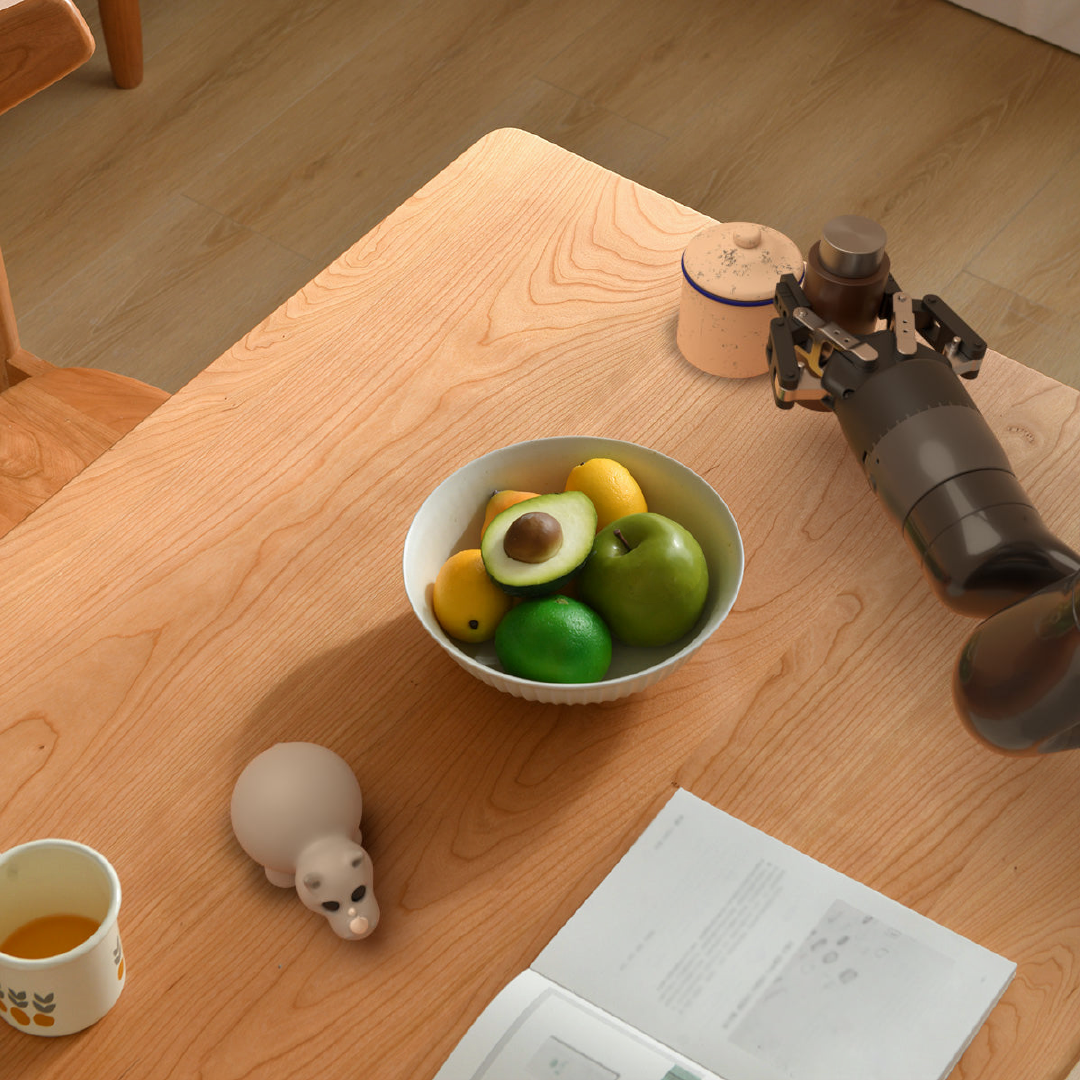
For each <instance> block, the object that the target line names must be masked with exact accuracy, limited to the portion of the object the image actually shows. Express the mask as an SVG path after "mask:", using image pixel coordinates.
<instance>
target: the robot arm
mask: <svg viewBox="0 0 1080 1080" xmlns="http://www.w3.org/2000/svg"><path fill="white" fill-rule="evenodd" d="M773 305H774V307H775V309H776V310H777V313H778V314H779V316H780V317H776V318H773V319H772V320H771V321H770V327H769V330H770V331H769V337H768V343H767V345H766V350H765V353H766V358H767V363H768V368H769V371H768V374H769V379H770V384H771V388H772V389H771V390H772V393H773V400H774V404H775V406H776V407H777V408H778V409H780V410H782V411H789V410H791V409H793V408H794V407H795V403H796V402H795V400H820V402H821V403H822V404H823V405H824V406H825V407H827V408H828V409H830V410H831V411H832V412H831V413H833V414H834V415H835V416H836V418H837V421H838V423H839V426H840V430H841V432H842V435H843V436H844V438H845V440H846V443H847V444H848V446H849V448H850V450H851V452H852V453H853V456H854V457H855V459H856V461H857V463H858V465H859V466H860V469H861V470H862V472H863V474H864V476H865V478H866V480H867V483H868V485H869V488H870V490H871V492H872V493H873V494H874V495H875V496H876V498H877V501H878V502H879V504H880V506H881V508H882V511H884V513H885V514H886V516H887V518H888V519H889V521H890V522H891V523H892V524H893V526H894V527H895V528H896V529H897V530H898V532H899V533H900V535H901V536H902V538H903V540H904V541H905V543H906V545H907V547H908V549H909V550H910V552H911V554H912V556H913V558H914V560H915V562H916V564H917V565H918V567H919V569H920V571H921V572H922V574H923V577H924V579H925V580H926V583H927V584H928V586H929V587H930V588H929V589H930V590H931V591H932V593H933V594H934V596H935V597H936V599H937V600H938V602H939V603H940V604H941V605H942V606H943V608H944V609H946V610H947V611H949V612H951V613H952V614H954V615H956V616H959V617H963V618H968V619H975V620H983V621H981V622H980V623H979V624H978V625H977V626H976V627H975V628H973V630H972V631H971V632H970V633H969V634H968V635H967V637H966V638H965V640H964V641H963V642H962V644H961V646H960V648H959V650H958V652H957V655H956V658H955V659H954V663H953V666H952V667H953V668H952V672H951V681H950V692H951V699H952V705H953V708H954V711H955V714H956V715H957V718H958V720H959V722H960V724H961V725H962V726H963V728H964V729H965V731H966V732H967V734H968V735H969V736H970V737H971V738H972V739H973V740H974V741H975V742H976V743H977V744H978V745H980V746H981V747H983V748H984V749H986V750H988V751H990V752H992V753H994V754H996V755H999V756H1001V757H1006V758H1009V759H1021V760H1022V759H1024V760H1025V759H1034V758H1039V757H1044V756H1050V755H1055V754H1059V753H1063V752H1064V753H1065V752H1068V751H1074V750H1080V554H1079V553H1078V552H1077V551H1076V550H1074V549H1073V548H1072V547H1071V546H1069V545H1068V544H1067V543H1066V542H1064V541H1063V540H1062V539H1060V538H1059V537H1058V536H1057V535H1055V533H1053V532H1052V531H1051V530H1050V528H1049V527H1048V526H1047V524H1046V522H1045V521H1044V519H1043V518H1042V516H1041V514H1040V513H1039V511H1038V510H1037V507H1036V506H1035V505H1034V503H1033V501H1032V500H1031V498H1030V496H1029V495H1028V493H1027V492H1026V490H1025V489H1024V487H1023V485H1022V484H1021V483H1020V481H1019V479H1018V477H1017V475H1016V474H1015V472H1014V469H1013V467H1012V465H1011V462H1010V460H1009V457H1008V456H1007V454H1006V451H1005V449H1004V447H1003V445H1002V444H1001V442H1000V440H999V439H998V438H997V436H996V434H995V432H994V431H993V430H992V428H991V427H990V425H989V424H988V422H987V420H986V419H985V417H984V415H983V414H982V412H981V411H980V409H979V408H978V406H977V404H976V403H975V401H974V400H973V398H972V396H971V395H970V393H969V392H968V390H967V388H966V387H965V385H964V384H963V382H962V381H961V379H960V377H961V378H962V379H964V380H966V381H967V380H969V381H973V380H976V379H977V378H978V376H979V373H980V370H981V368H982V365H983V361H984V358H985V355H986V353H987V350H988V343H987V342H986V341H985V340H984V339H983V338H982V337H981V336H980V335H979V334H978V333H977V332H976V331H975V330H974V329H973V328H972V327H971V326H970V325H969V324H968V323H967V322H965V320H963V318H962V317H960V315H959V314H957V313H956V311H955V310H954V309H952V307H950V306H949V305H948V304H947V303H946V302H945V301H944V300H943V299H942V298H941V297H940V296H938V295H936V294H934V293H928V294H925V295H923V297H922V299H919V298H913V297H912V296H911V295H910V294H909V293H907V292H905V291H903V290H902V289H901V287H900V285H899V284H898V283H897V281H896V279H895V278H894V276H893V275H892V273H891V271H889V275H888V279H887V283H886V287H885V291H884V295H883V299H882V303H881V307H880V311H879V315H878V320H879V321H884V320H886V321H885V329H881V330H880V329H879V330H876V331H874V333H871V334H868V335H863V334H854V335H851V334H849V333H848V332H847V331H846V330H844V329H843V328H842V327H841V326H839V325H838V324H837V323H835V322H834V321H831V322H829V323H826V322H825V321H824V320H822V319H821V318H820V317H819V316H817V315H816V314H815V313H814V312H812V311H811V310H810V308H811V304H810V302H809V301H808V299H807V297H806V296H805V294H804V292H803V290H802V286H801V285H799V283H798V281H797V279H796V278H795V276H794V274H793V273H788V274H782V275H781V277H780V282H779V283H776V289H775V295H774V302H773ZM916 332H917V334H918V335H919V336H920V337H921V338H922V339H923V340H924V341H925V342H926V343H927V344H928V345H929V346H930V347H929V346H927V345H925V344H923V343H921V342H919V341H917V338H916ZM809 334H810V335H811V336H812V337H813V339H812V338H811V337H810V336H809ZM833 347H834V349H833ZM795 349H796V350H797V351H798V352H799V353H801V354H802V355H803V356H804V357H805V358H807V360H808V362H809V366H810V368H811V369H812V370H813V371H814V372H815V373H817V374H818V375H819V376H820V377H821V379H818V378H814V377H812V376H811V375H810V374H809V372H808V370H807V369H806V368H805V363H804V362H797V358H796V353H795ZM959 376H960V377H959Z"/></svg>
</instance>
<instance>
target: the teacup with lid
mask: <svg viewBox="0 0 1080 1080" xmlns="http://www.w3.org/2000/svg"><path fill="white" fill-rule="evenodd" d="M680 265H681V271H682V282H681V292H680V300H679V301H680V303H679V312H678V320H677V321H678V322H677V331H676V342H677V347H678V349H679V351H680V353H681V354H682V356H683V358H685V359H686V360H687V361H688V362H689V363H690V364H691V365H693V366H694V367H696V368H697V369H698V370H700V371H703V372H705V373H707V374H710V375H713V376H716V377H721V378H726V379H727V378H729V379H747V378H752V377H757V376H760V375H763V374H766V373H769V368H768V363H767V358H766V353H765V350H766V345H767V343H768V337H769V331H770V330H769V327H770V321H771V320H772V319H773V318H776V317H780V316H779V314H778V313H777V310H776V309H775V307H774V305H773V302H774V295H775V289H776V283H779V282H780V277H781V275H782V274H788V273H793V274H794V276H795V278H796V279H797V281H798V283H799V285H800V286H801V285H802V284H803V280H804V274H805V269H806V265H805V262H804V257H803V255H802V253H801V251H800V249H799V248H798V246H797V245H796V244H795V243H794V241H792V239H791V238H789V237H788V236H786V235H785V234H784V233H782V232H780V231H779V230H776V229H775V228H772V227H770V226H767V225H763V224H760V223H759V224H758V223H755V222H748V221H747V222H745V221H732V222H724V223H718V224H715V225H712V226H709V227H707V228H705V229H703V230H701V231H700V232H698V233H697V234H696V235H695V236H694V237H692V239H691V240H690V241H689V242H688V243H687V245H686V247H685V248H684V250H683V253H682V256H681V259H680Z"/></svg>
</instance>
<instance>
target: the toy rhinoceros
mask: <svg viewBox="0 0 1080 1080" xmlns="http://www.w3.org/2000/svg"><path fill="white" fill-rule="evenodd" d="M362 796H363V795H362V791H361V787H360V784H359V781H358V779H357V776H356V774H355V773H354V772H353V770H352V768H351V767H350V766H349V764H348V763H347V762H346V761H345V759H343V758H342V757H341V756H340V755H339V754H337V753H336V752H334V751H333V750H331V749H329V748H327V747H325V746H323V745H321V744H318V743H313V742H307V741H290V742H289V741H288V742H276V743H274V744H273V745H272V746H271V747H270V748H267V749H265V750H264V751H262V752H260V753H259V754H258V755H256V756H255V757H254V758H253V759H251V760H250V762H249V763H248V764H247V765H246V766H245V767H244V769H243V770H242V772H241V773H240V775H239V777H238V778H237V780H236V783H235V785H234V788H233V791H232V795H231V799H230V821H231V827H232V830H233V833H234V835H235V837H236V839H237V842H238V844H239V845H240V846H241V848H242V849H243V850H244V852H245V853H246V854H247V855H248V856H249V857H250V858H251V859H252V860H254V862H256V863H257V864H259V865H260V866H262V867H264V873H265V877H266V878H267V880H268V882H270V883H271V884H272V885H273V886H275V887H278V888H281V889H289V888H294V887H295V889H296V892H297V896H298V898H299V899H300V901H301V902H302V904H303V905H304V906H305V907H306V908H307V909H308V910H310V911H312V912H314V913H316V914H319V915H321V916H323V917H325V918H326V919H327V922H328V923H329V925H330V927H331V929H332V931H333V932H334V934H336V935H337V936H338V937H339V938H341V939H344V940H346V941H347V940H348V941H360V940H363V939H366V937H368V936H370V934H372V933H373V932H374V930H375V929H376V928H377V926H378V924H379V921H380V918H381V911H380V906H379V904H378V901H377V898H376V896H375V893H374V892H375V891H374V866H373V861H372V859H371V856H370V855H369V853H368V852H367V851H366V850H365V848H363V846H362V842H363V834H362V830H361V829H360V824H361V821H362V815H363V797H362Z"/></svg>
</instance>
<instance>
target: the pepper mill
mask: <svg viewBox="0 0 1080 1080" xmlns="http://www.w3.org/2000/svg"><path fill="white" fill-rule="evenodd" d="M887 242H888V234H887V232H886V230H885V228H884V227H883V226H882V224H880V223H879V222H878V221H876V220H874V219H873V218H870V217H867V216H863V215H859V214H842V215H837V216H835V217H832V218H830V219H829V220H828V221H826V223H825V224H824V226H823V228H822V232H821V236H820V239H819V240H817V241H816V242H814V244H813V245H812V246H811V247H810V248H809V250H808V254H807V259H806V265H805V274H804V278H803V281H802V284H801V285H802V286H801V288H802V290H803V292H804V294H805V296H806V297H807V299H808V301H809V302H810V304H811V308H810V310H811V311H812V312H814V313H815V314H816V315H817V316H819V317H820V318H821V319H822V320H824V321H825V322H826V323H829V322H831V321H834V322H835V323H837V324H838V325H839V326H841V327H842V328H843V329H844V330H846V331H847V332H848V333H849V334H851V335H854V334H863V335H868V334H871V333H874V332H876V331H875V330H876V327H877V322H878V320H879V318H878V315H879V311H880V307H881V303H882V299H883V295H884V291H885V287H886V283H887V279H888V275H889V271H890V270H891V259H890V256H889V254H888V253H887V252H886V246H887ZM890 272H891V271H890ZM809 336H810V337H811V338H812V339H813V337H812V336H811V335H810V334H809ZM833 349H834V347H833ZM795 353H796V358H797V362H804V363H805V368H806V369H807V370H808V372H809V374H810V375H811V376H812V377H814V378H818V379H821V377H820V376H819V375H818V374H817V373H815V372H814V371H813V370H812V369H811V368H810V366H809V362H808V360H807V358H805V357H804V356H803V355H802V354H801V353H799V352H798V351H797V350H796V349H795ZM795 403H796V404H797V405H799V406H801V407H802V408H804V409H807V410H810V411H813V412H818V413H833V412H832V411H831V410H830V409H828V408H827V407H825V406H824V405H823V404H822V403H821V402H820V400H795Z"/></svg>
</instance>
